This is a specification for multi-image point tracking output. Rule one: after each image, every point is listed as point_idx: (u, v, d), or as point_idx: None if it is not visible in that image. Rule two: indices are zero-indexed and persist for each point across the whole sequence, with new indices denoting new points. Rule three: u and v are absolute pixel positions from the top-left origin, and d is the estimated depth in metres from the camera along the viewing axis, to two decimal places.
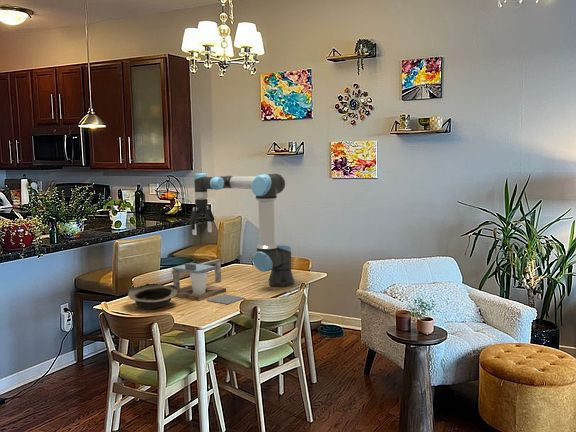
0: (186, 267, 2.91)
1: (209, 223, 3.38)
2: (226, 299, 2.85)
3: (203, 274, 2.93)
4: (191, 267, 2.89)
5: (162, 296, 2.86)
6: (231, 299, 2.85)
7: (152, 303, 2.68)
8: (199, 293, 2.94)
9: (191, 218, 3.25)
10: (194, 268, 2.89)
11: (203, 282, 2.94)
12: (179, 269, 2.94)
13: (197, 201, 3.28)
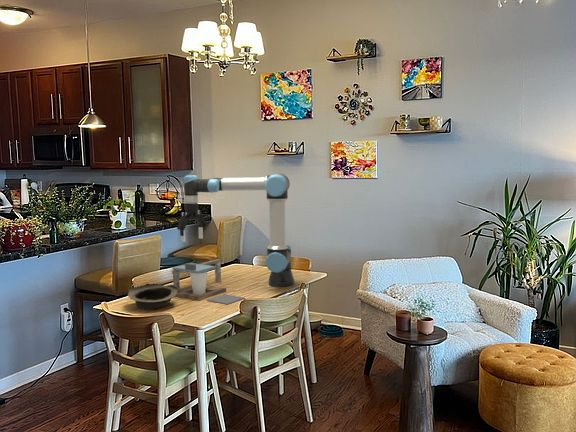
0: (186, 267, 2.91)
1: (200, 229, 3.15)
2: (226, 299, 2.85)
3: (203, 274, 2.93)
4: (191, 267, 2.89)
5: (162, 296, 2.86)
6: (231, 299, 2.85)
7: (152, 303, 2.68)
8: (199, 293, 2.94)
9: (180, 224, 3.02)
10: (194, 268, 2.89)
11: (203, 282, 2.94)
12: (179, 269, 2.94)
13: (186, 205, 3.05)
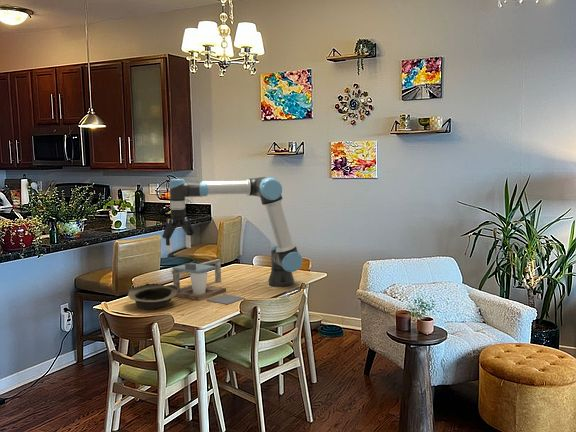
0: (186, 267, 2.91)
1: (188, 237, 2.88)
2: (226, 299, 2.85)
3: (203, 274, 2.93)
4: (191, 267, 2.89)
5: (162, 296, 2.86)
6: (231, 299, 2.85)
7: (152, 303, 2.68)
8: (199, 293, 2.94)
9: (165, 232, 2.75)
10: (194, 268, 2.89)
11: (203, 282, 2.94)
12: (179, 269, 2.94)
13: (173, 212, 2.78)
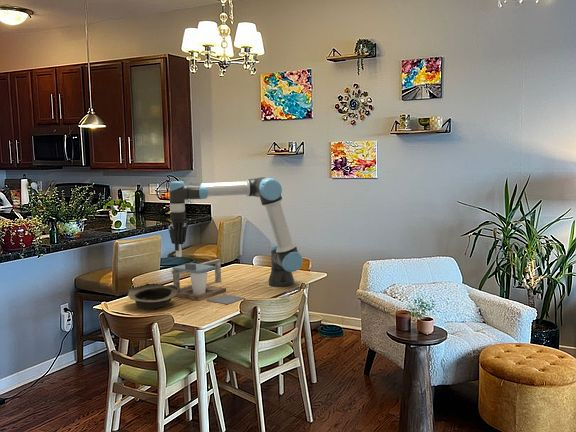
0: (186, 267, 2.91)
1: None
2: (226, 299, 2.85)
3: (203, 274, 2.93)
4: (191, 267, 2.89)
5: (162, 296, 2.86)
6: (231, 299, 2.85)
7: (152, 303, 2.68)
8: (199, 293, 2.94)
9: (172, 238, 2.78)
10: (194, 268, 2.89)
11: (203, 282, 2.94)
12: (179, 269, 2.94)
13: (172, 214, 2.77)
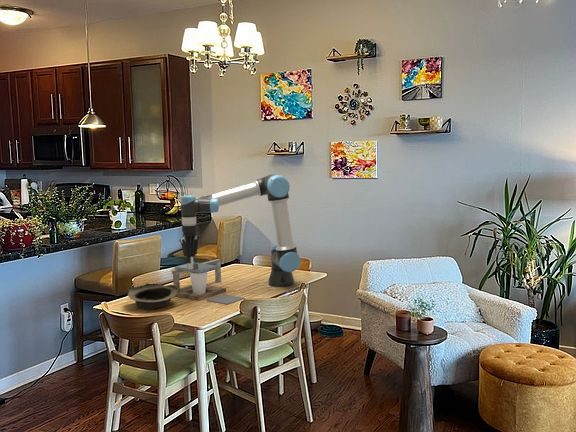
0: None
1: None
2: (226, 299, 2.85)
3: (203, 274, 2.93)
4: None
5: (162, 296, 2.86)
6: (231, 299, 2.85)
7: (152, 303, 2.68)
8: (199, 293, 2.94)
9: (184, 251, 2.86)
10: (196, 267, 2.90)
11: (203, 282, 2.94)
12: (181, 268, 2.95)
13: (184, 228, 2.85)
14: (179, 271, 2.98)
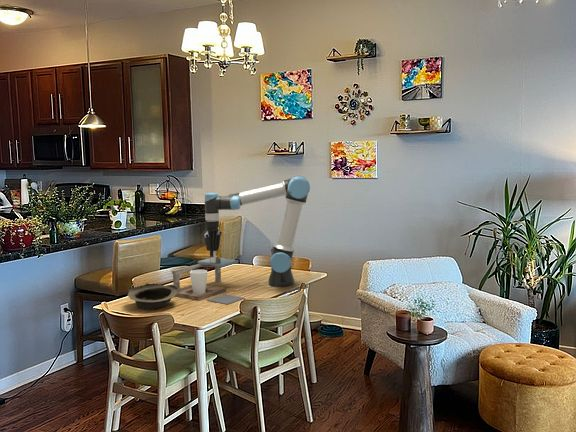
0: None
1: None
2: (226, 299, 2.85)
3: (203, 274, 2.93)
4: (216, 261, 3.05)
5: (162, 296, 2.86)
6: (231, 299, 2.85)
7: (152, 303, 2.68)
8: (199, 293, 2.94)
9: (207, 246, 3.01)
10: (219, 262, 3.05)
11: (203, 282, 2.94)
12: (204, 263, 3.10)
13: (208, 223, 3.00)
14: (179, 271, 2.98)
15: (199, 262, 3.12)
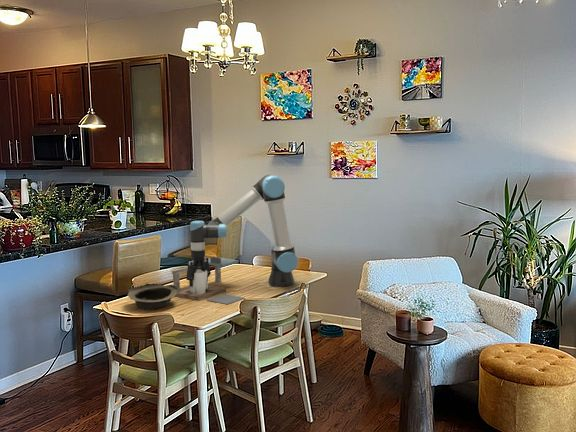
0: (211, 261, 3.07)
1: None
2: (226, 299, 2.85)
3: (203, 274, 2.93)
4: (216, 261, 3.05)
5: (162, 296, 2.86)
6: (231, 299, 2.85)
7: (152, 303, 2.68)
8: (199, 293, 2.94)
9: (188, 274, 2.89)
10: (219, 262, 3.05)
11: (203, 282, 2.94)
12: None
13: (193, 253, 2.91)
14: (179, 271, 2.98)
15: None
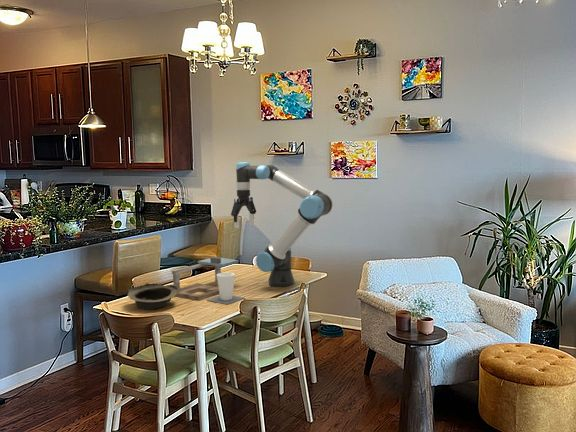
0: (211, 261, 3.07)
1: (251, 215, 3.17)
2: None
3: (231, 277, 2.82)
4: (216, 261, 3.05)
5: (162, 296, 2.86)
6: (231, 299, 2.85)
7: (152, 303, 2.68)
8: (226, 297, 2.84)
9: (233, 210, 3.04)
10: (219, 262, 3.05)
11: (230, 285, 2.83)
12: (204, 263, 3.10)
13: (239, 192, 3.07)
14: (179, 271, 2.98)
15: (199, 262, 3.13)
